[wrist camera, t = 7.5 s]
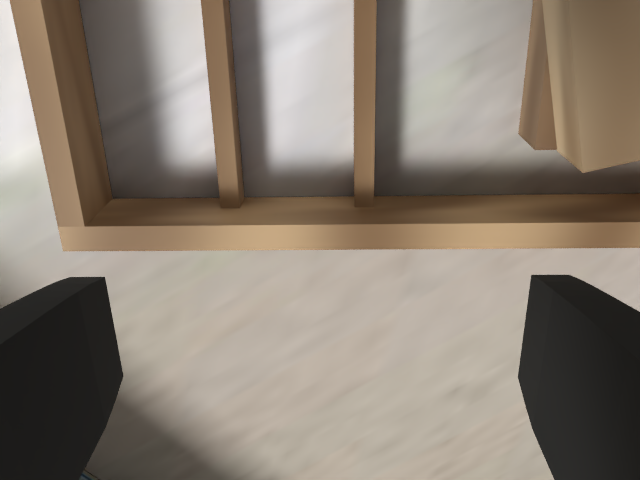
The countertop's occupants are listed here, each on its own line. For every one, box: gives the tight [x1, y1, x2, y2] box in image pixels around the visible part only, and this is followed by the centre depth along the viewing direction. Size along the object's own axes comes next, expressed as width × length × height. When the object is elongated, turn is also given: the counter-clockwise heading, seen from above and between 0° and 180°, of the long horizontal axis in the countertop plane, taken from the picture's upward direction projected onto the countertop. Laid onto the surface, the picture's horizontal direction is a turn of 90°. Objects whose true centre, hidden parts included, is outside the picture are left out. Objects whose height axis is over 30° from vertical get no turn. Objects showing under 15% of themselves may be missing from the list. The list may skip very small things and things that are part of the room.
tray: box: [10, 0, 640, 251], centre depth 17 cm, size 20×10×2 cm, turn 91°
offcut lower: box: [518, 0, 557, 150], centre depth 17 cm, size 4×5×2 cm
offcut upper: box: [542, 0, 640, 173], centre depth 15 cm, size 3×4×2 cm
